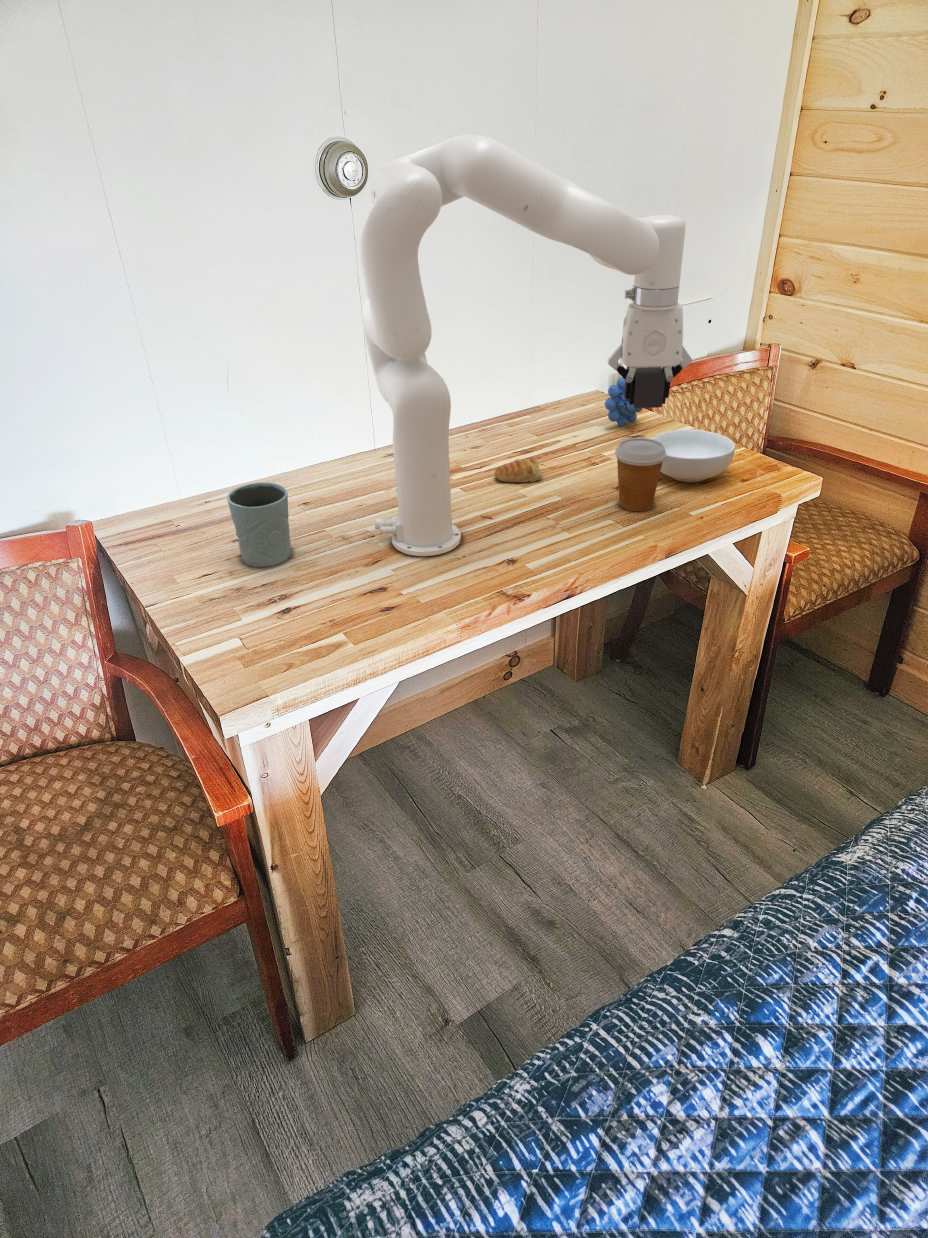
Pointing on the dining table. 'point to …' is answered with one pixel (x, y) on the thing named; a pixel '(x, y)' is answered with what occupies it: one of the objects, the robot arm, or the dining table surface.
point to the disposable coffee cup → (638, 472)
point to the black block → (649, 387)
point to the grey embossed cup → (261, 523)
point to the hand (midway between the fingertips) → (646, 400)
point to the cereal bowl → (695, 454)
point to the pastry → (519, 471)
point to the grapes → (620, 405)
